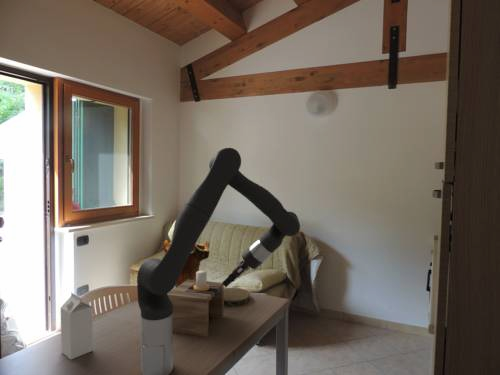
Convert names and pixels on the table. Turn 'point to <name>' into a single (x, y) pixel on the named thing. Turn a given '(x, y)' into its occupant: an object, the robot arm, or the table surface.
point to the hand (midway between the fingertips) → (227, 281)
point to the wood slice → (236, 297)
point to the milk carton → (76, 327)
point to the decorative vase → (191, 261)
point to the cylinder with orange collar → (201, 281)
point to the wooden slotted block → (196, 307)
